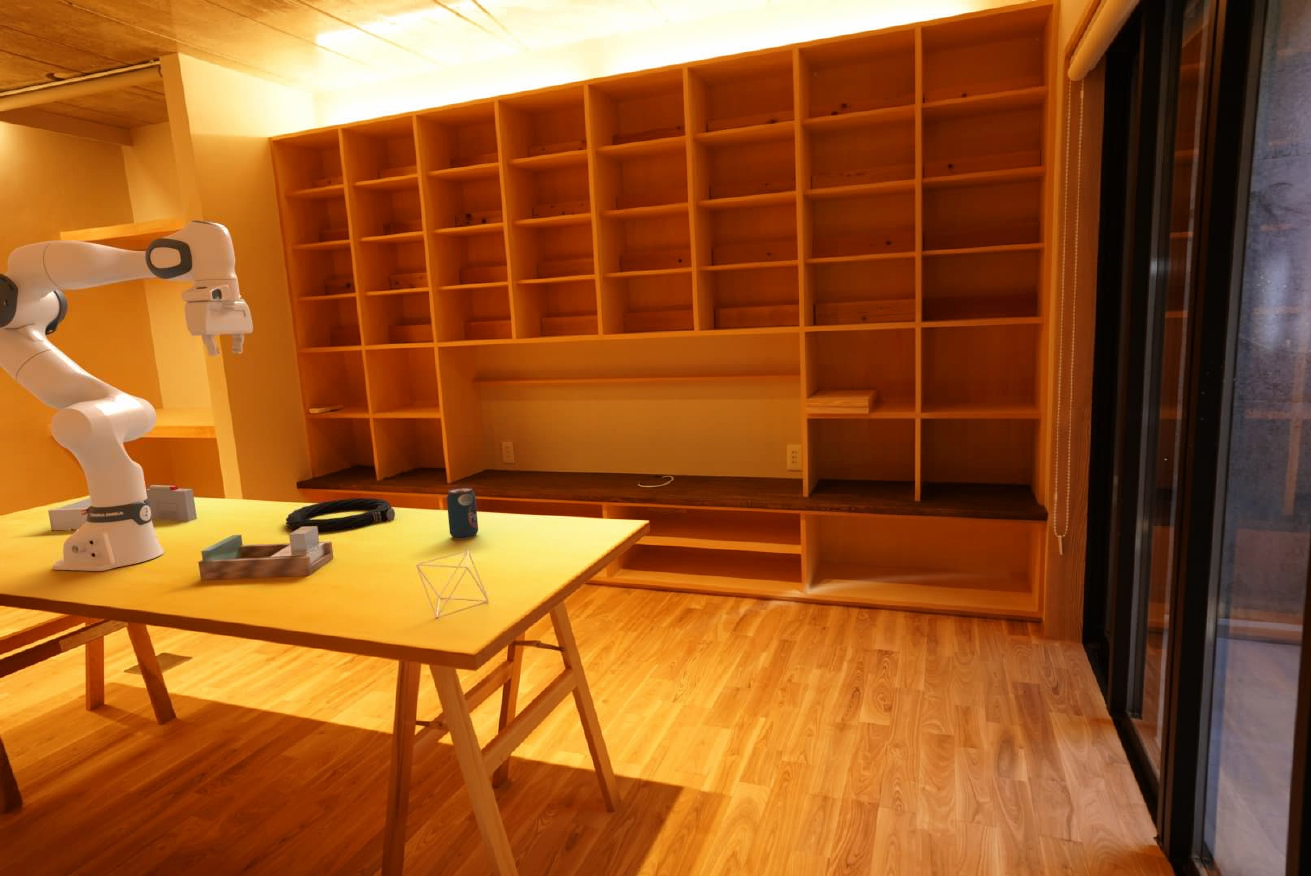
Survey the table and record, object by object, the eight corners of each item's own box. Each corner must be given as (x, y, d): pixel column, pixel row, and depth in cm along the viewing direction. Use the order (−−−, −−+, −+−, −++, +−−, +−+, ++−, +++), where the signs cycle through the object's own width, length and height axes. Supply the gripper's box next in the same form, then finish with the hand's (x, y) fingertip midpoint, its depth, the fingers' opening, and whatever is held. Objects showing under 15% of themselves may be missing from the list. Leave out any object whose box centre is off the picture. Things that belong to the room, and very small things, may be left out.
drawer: (200, 579, 166) (196, 550, 165) (232, 562, 178) (228, 535, 177) (309, 575, 166) (305, 546, 165) (333, 558, 177) (330, 531, 176)
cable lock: (325, 496, 229) (416, 496, 223) (327, 508, 230) (418, 508, 224) (261, 520, 203) (362, 521, 196) (263, 534, 203) (364, 535, 197)
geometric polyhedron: (413, 606, 145) (408, 560, 143) (464, 590, 152) (460, 546, 150) (444, 623, 136) (439, 575, 134) (497, 605, 143) (493, 559, 141)
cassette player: (197, 519, 223) (192, 485, 221) (188, 521, 220) (183, 487, 219) (157, 517, 228) (152, 484, 226) (149, 519, 225) (143, 486, 224)
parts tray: (51, 531, 216) (48, 510, 215) (110, 510, 239) (107, 491, 238) (96, 529, 216) (92, 508, 215) (151, 508, 239) (148, 490, 238)
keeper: (271, 567, 167) (267, 536, 166) (291, 554, 176) (288, 525, 175) (307, 566, 167) (303, 535, 166) (325, 553, 176) (322, 524, 175)
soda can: (478, 538, 188) (474, 491, 186) (449, 541, 186) (445, 493, 184) (478, 531, 195) (474, 485, 193) (450, 534, 193) (446, 488, 191)
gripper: (230, 295, 185) (238, 353, 187) (176, 293, 164) (185, 357, 167) (256, 294, 184) (263, 351, 187) (204, 291, 164) (213, 356, 166)
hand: (226, 354), depth 176 cm, fingers open, 8 cm apart
